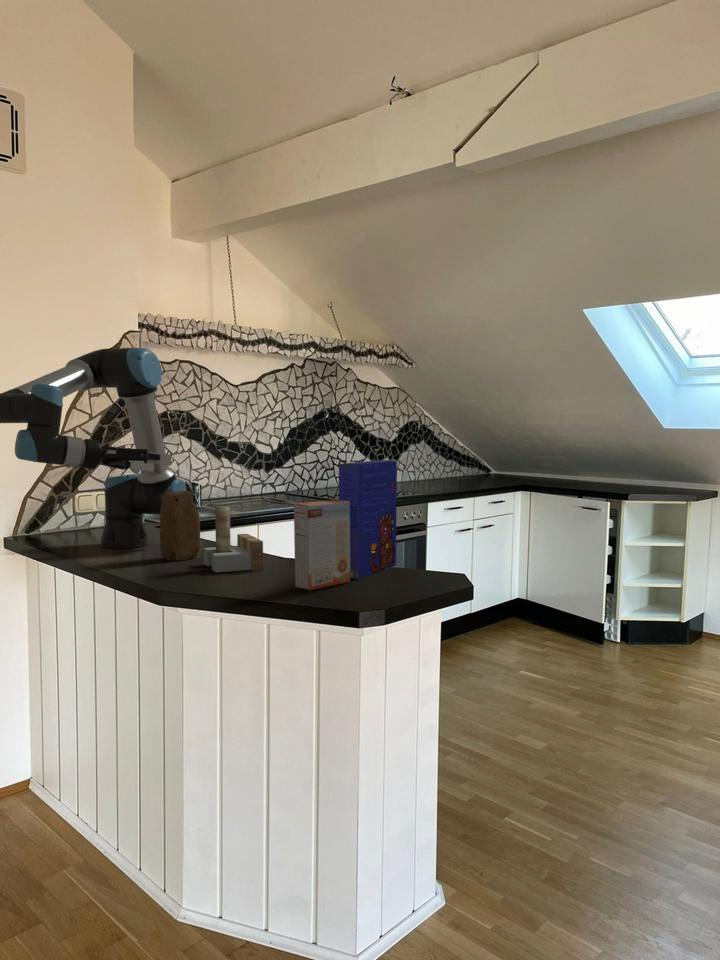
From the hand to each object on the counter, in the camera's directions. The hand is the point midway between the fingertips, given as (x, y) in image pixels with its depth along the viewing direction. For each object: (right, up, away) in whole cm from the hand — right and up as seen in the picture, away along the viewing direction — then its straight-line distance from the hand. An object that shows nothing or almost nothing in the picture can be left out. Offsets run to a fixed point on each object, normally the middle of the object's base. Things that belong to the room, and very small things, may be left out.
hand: (162, 463), depth 201 cm
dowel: (+16, -29, +4) cm, 33 cm away
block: (+1, -28, +17) cm, 33 cm away
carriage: (+17, -29, +4) cm, 34 cm away
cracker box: (+45, -31, -17) cm, 57 cm away
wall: (+23, -29, +7) cm, 37 cm away
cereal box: (+56, -30, 0) cm, 64 cm away
